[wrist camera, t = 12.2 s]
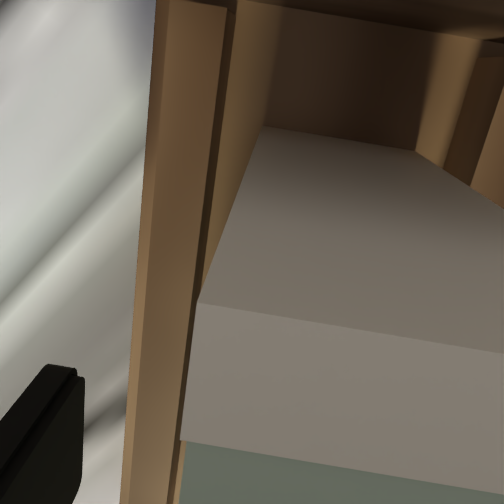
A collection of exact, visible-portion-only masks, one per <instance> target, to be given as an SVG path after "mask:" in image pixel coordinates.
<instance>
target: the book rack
mask: <svg viewBox="0 0 504 504" xmlns="http://www.w3.org/2000/svg"><path fill="white" fill-rule="evenodd" d="M262 126H268V127H274V128H280V129H286V130H292V131H298V132H304V133H310V134H316V135H322V136H328V137H334V138H340V139H346V140H352V141H358V142H364V143H370V144H376V145H382V146H388V147H394V148H400V149H405V150H411V151H416V152H417V153H419V154H420V155H422V156H423V157H425V158H426V159H428V160H430V161H431V162H433V163H434V164H436V165H437V166H439V167H440V168H442V169H443V170H445V171H446V172H448V173H449V174H451V175H452V176H454V177H455V178H457V179H459V180H460V181H462V182H463V183H465V184H466V185H468V186H469V187H471V188H472V189H474V190H475V191H477V192H478V193H480V194H481V195H483V196H484V197H486V198H488V199H489V200H491V201H492V202H494V203H495V204H497V205H498V206H500V207H501V208H503V209H504V0H156V12H155V25H154V39H153V53H152V66H151V80H150V94H149V108H148V121H147V135H146V149H145V162H144V176H143V190H142V204H141V217H140V231H139V245H138V258H137V272H136V286H135V300H134V313H133V327H132V341H131V354H130V368H129V382H128V396H127V409H126V423H125V437H124V450H123V464H122V478H121V492H120V504H178V503H179V495H180V488H181V480H182V473H183V465H184V457H185V450H186V442H187V441H183V440H180V433H181V425H182V417H183V409H184V401H185V393H186V385H187V377H188V369H189V361H190V353H191V345H192V337H193V329H194V321H195V313H196V305H197V301H198V298H199V295H200V292H201V290H202V287H203V284H204V282H205V279H206V276H207V274H208V271H209V268H210V265H211V263H212V260H213V257H214V255H215V252H216V249H217V247H218V244H219V241H220V238H221V236H222V233H223V230H224V228H225V225H226V222H227V220H228V217H229V214H230V211H231V209H232V206H233V203H234V201H235V198H236V195H237V193H238V190H239V187H240V184H241V182H242V179H243V176H244V174H245V171H246V168H247V166H248V163H249V160H250V157H251V155H252V152H253V149H254V147H255V144H256V141H257V139H258V136H259V133H260V130H261V128H262Z"/></svg>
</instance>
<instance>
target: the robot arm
mask: <svg viewBox="0 0 504 504" xmlns="http://www.w3.org/2000/svg"><path fill="white" fill-rule="evenodd" d="M84 399H85V379H84V378H83V377H79V376H77V370H76V369H75V368H70V367H64V366H59V365H53V364H47V365H45V366H44V367H43V368H42V370H41V371H40V372H39V373H38V375H37V376H36V377H35V378H34V379H33V381H32V382H31V383H30V384H29V386H28V387H27V388H26V389H25V391H24V392H23V393H22V394H21V396H20V397H19V398H18V399H17V401H16V402H15V403H14V404H13V406H12V407H11V408H10V409H9V411H8V412H7V413H6V414H5V416H4V417H3V418H2V419H1V421H0V504H72V503H73V501H74V499H75V497H76V494H77V492H78V489H79V487H80V483H81V478H82V462H83V431H84Z"/></svg>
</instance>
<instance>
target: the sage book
mask: <svg viewBox="0 0 504 504" xmlns="http://www.w3.org/2000/svg"><path fill="white" fill-rule="evenodd" d="M180 440H183V441H187V442H186V450H185V457H184V465H183V473H182V480H181V488H180V495H179V503H178V504H504V209H503V208H501V207H500V206H498V205H497V204H495V203H494V202H492V201H491V200H489V199H488V198H486V197H484V196H483V195H481V194H480V193H478V192H477V191H475V190H474V189H472V188H471V187H469V186H468V185H466V184H465V183H463V182H462V181H460V180H459V179H457V178H455V177H454V176H452V175H451V174H449V173H448V172H446V171H445V170H443V169H442V168H440V167H439V166H437V165H436V164H434V163H433V162H431V161H430V160H428V159H426V158H425V157H423V156H422V155H420V154H419V153H417V152H416V151H411V150H405V149H400V148H394V147H388V146H382V145H376V144H370V143H364V142H358V141H352V140H346V139H340V138H334V137H328V136H322V135H316V134H310V133H304V132H298V131H292V130H286V129H280V128H274V127H268V126H262V128H261V130H260V133H259V136H258V139H257V141H256V144H255V147H254V149H253V152H252V155H251V157H250V160H249V163H248V166H247V168H246V171H245V174H244V176H243V179H242V182H241V184H240V187H239V190H238V193H237V195H236V198H235V201H234V203H233V206H232V209H231V211H230V214H229V217H228V220H227V222H226V225H225V228H224V230H223V233H222V236H221V238H220V241H219V244H218V247H217V249H216V252H215V255H214V257H213V260H212V263H211V265H210V268H209V271H208V274H207V276H206V279H205V282H204V284H203V287H202V290H201V292H200V295H199V298H198V301H197V305H196V313H195V321H194V329H193V337H192V345H191V353H190V361H189V369H188V377H187V385H186V393H185V401H184V409H183V417H182V425H181V433H180Z"/></svg>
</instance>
